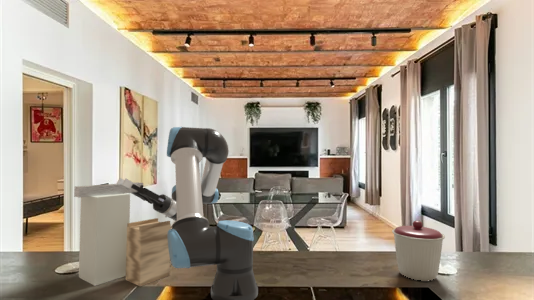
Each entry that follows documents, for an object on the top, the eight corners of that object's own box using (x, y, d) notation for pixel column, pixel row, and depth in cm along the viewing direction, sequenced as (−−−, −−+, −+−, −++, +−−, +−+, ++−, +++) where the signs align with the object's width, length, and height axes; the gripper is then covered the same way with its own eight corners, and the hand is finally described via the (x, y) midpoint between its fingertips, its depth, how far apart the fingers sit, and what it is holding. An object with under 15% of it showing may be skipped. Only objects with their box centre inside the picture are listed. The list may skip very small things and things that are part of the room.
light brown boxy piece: (169, 275, 114) (170, 221, 115) (140, 286, 105) (141, 226, 105) (155, 270, 120) (156, 218, 120) (125, 279, 110) (127, 223, 110)
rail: (143, 191, 124) (143, 182, 124) (78, 197, 105) (79, 187, 105) (138, 190, 126) (138, 182, 126) (74, 196, 107) (74, 186, 107)
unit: (128, 275, 114) (130, 194, 115) (94, 285, 105) (97, 197, 105) (110, 267, 122) (112, 191, 122) (78, 276, 112) (80, 194, 113)
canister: (452, 288, 107) (452, 227, 107) (397, 283, 110) (397, 224, 111) (435, 269, 124) (435, 217, 125) (387, 266, 128) (388, 215, 128)
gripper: (173, 215, 128) (128, 191, 112) (150, 211, 138) (105, 188, 122) (181, 199, 131) (138, 173, 115) (157, 196, 141) (115, 171, 125)
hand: (121, 181), depth 118 cm, fingers closed on rail, 3 cm apart
